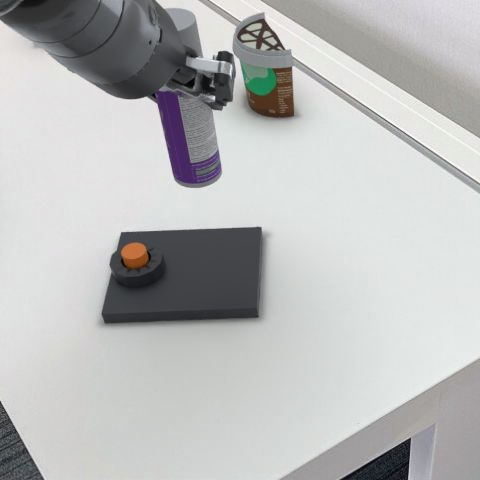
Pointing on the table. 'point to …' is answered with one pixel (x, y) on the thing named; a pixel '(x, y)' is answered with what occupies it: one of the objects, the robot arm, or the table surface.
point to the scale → (187, 276)
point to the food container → (264, 67)
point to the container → (189, 121)
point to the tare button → (135, 255)
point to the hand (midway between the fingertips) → (192, 96)
